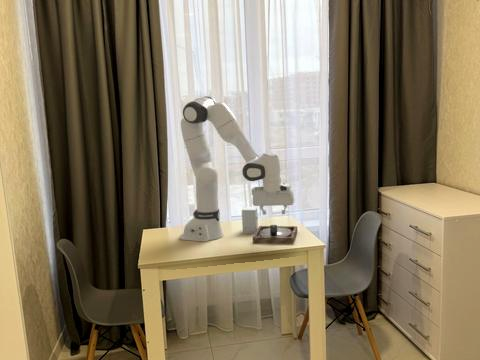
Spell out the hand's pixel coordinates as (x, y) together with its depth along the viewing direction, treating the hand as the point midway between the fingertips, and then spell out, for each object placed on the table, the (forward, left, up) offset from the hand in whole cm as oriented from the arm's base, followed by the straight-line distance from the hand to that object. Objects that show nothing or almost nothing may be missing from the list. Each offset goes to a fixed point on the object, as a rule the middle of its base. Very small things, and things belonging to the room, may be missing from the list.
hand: (273, 214), depth 241 cm
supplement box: (-15, +16, -14) cm, 27 cm away
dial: (0, +6, -13) cm, 14 cm away
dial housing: (0, +6, -14) cm, 15 cm away
